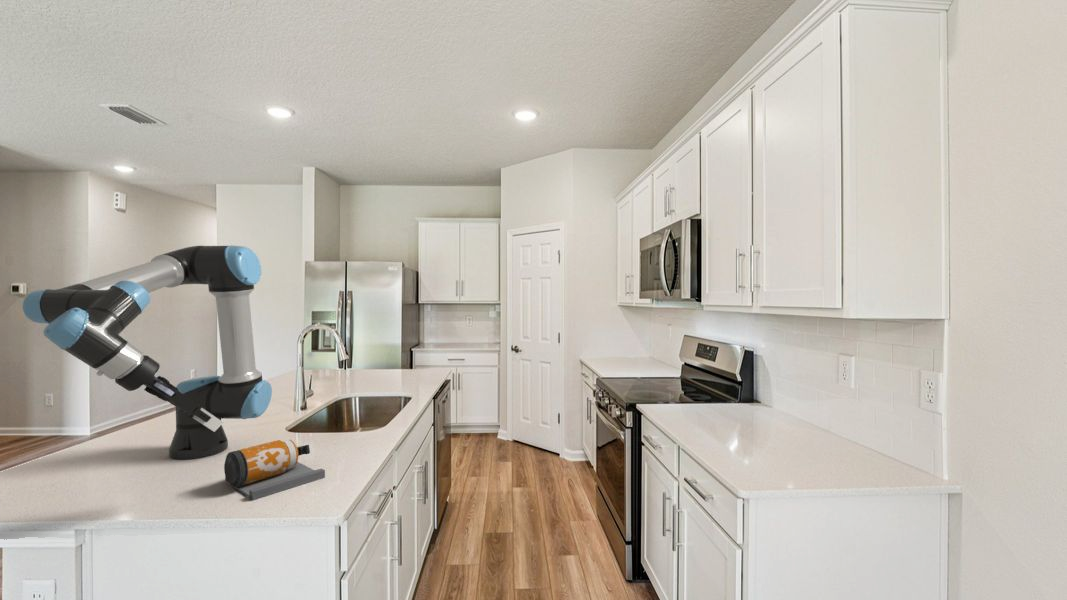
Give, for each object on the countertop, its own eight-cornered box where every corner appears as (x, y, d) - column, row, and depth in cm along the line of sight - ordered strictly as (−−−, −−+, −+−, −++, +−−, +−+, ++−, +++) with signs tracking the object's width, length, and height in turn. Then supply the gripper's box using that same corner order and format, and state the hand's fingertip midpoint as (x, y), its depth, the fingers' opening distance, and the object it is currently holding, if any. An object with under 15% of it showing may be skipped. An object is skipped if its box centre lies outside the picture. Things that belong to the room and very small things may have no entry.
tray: (225, 481, 125) (225, 473, 125) (294, 462, 139) (294, 455, 139) (252, 500, 113) (252, 492, 113) (324, 477, 127) (324, 470, 127)
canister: (235, 451, 117) (311, 431, 133) (216, 455, 123) (292, 436, 140) (239, 487, 116) (316, 463, 132) (221, 490, 122) (296, 466, 138)
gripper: (106, 377, 103) (196, 434, 117) (120, 385, 95) (215, 445, 109) (136, 351, 108) (220, 409, 121) (153, 356, 100) (240, 418, 113)
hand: (217, 426), depth 115 cm, fingers closed
